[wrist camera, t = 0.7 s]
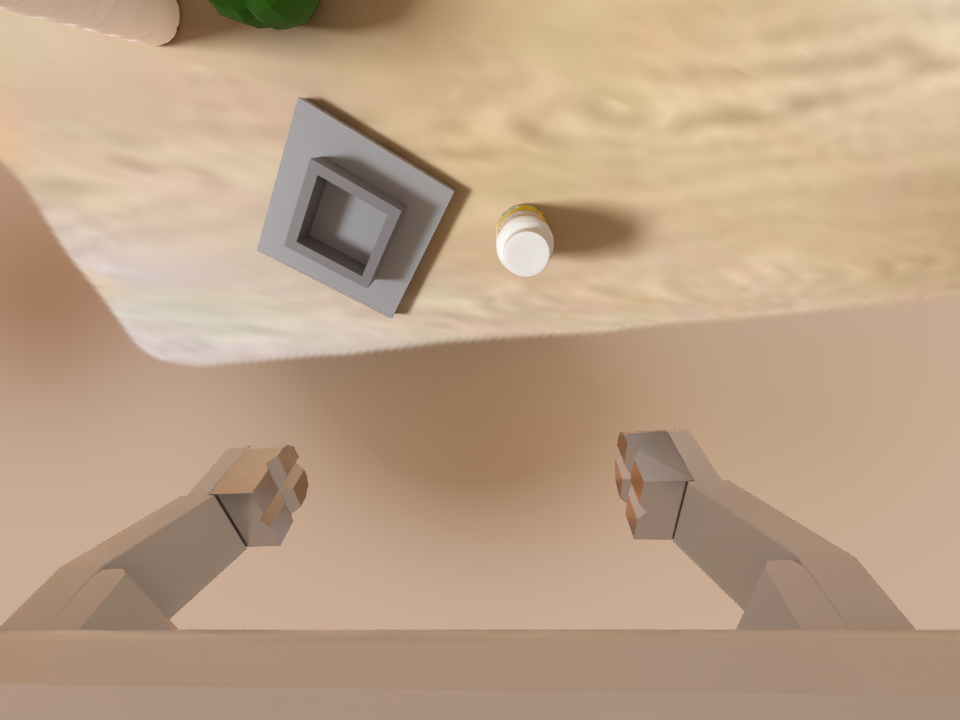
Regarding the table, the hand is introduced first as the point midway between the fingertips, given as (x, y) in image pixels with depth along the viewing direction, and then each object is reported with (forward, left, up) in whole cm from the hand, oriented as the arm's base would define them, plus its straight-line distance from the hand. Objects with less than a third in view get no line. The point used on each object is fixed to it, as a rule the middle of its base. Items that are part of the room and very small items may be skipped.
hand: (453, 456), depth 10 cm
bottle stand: (+8, -12, -36) cm, 39 cm away
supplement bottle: (0, +4, -36) cm, 37 cm away
